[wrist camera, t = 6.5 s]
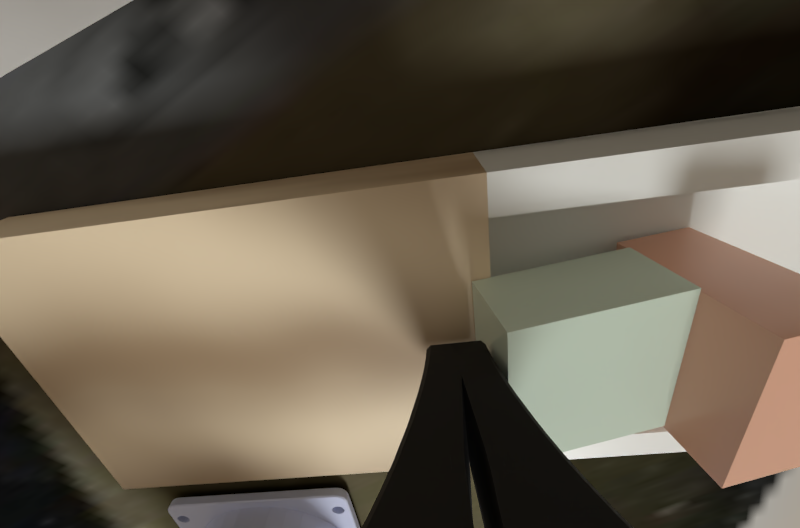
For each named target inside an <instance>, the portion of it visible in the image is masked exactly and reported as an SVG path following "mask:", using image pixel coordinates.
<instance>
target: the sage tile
mask: <svg viewBox="0 0 800 528" xmlns="http://www.w3.org/2000/svg"><path fill="white" fill-rule="evenodd" d="M472 291H473V306H474V322H475V337H476V341H480V340H481V341H482V342H483V343H485V344H486V346H487V348H488V350H489V352H490V354H491V356H492V357H493V359H494V361H495V362H496V364H497V366H498V367H499V369H500V370H501V372H502V374H503V375H504V377H505V378H506V380H507V381H508V383H509V384H510V386H511V387H512V388H513V390H514V391H515V393H516V394H517V395H518V397H519V398H520V399H521V401H522V402H523V403H524V405H525V406H526V407H527V409H528V410H529V411H530V413H531V414H532V415H533V417H534V418H535V419H536V421H537V422H538V423H539V424H540V426H541V427H542V428H543V429H544V431H545V432H546V433H547V434H548V436H549V437H550V438H551V439H552V440H553V442H554V443H555V444H556V445H557V446H558V448H559V449H560V450H561V451H562V452H566V451H570V450H573V449H577V448H581V447H585V446H589V445H593V444H596V443H600V442H604V441H608V440H612V439H616V438H620V437H623V436H627V435H631V434H635V433H639V432H643V431H646V430H650V429H654V428H658V427H662V426H665V422H666V418H667V415H668V411H669V407H670V404H671V400H672V396H673V392H674V389H675V385H676V381H677V377H678V374H679V370H680V366H681V363H682V359H683V355H684V351H685V348H686V344H687V340H688V336H689V333H690V329H691V325H692V322H693V318H694V314H695V310H696V307H697V303H698V299H699V295H700V292H701V288H700V287H699V286H697V285H695V284H693V283H692V282H690V281H688V280H686V279H685V278H683V277H681V276H679V275H678V274H676V273H674V272H672V271H671V270H669V269H667V268H665V267H664V266H662V265H660V264H658V263H656V262H655V261H653V260H651V259H649V258H648V257H646V256H644V255H642V254H641V253H639V252H637V251H635V250H634V249H632V248H630V247H629V248H624V249H620V250H615V251H610V252H606V253H601V254H596V255H592V256H587V257H583V258H578V259H573V260H569V261H564V262H560V263H555V264H550V265H546V266H541V267H536V268H532V269H527V270H523V271H518V272H513V273H509V274H504V275H500V276H495V277H490V278H486V279H481V280H476V281H472Z"/></svg>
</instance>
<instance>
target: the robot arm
mask: <svg viewBox="0 0 800 528" xmlns="http://www.w3.org/2000/svg"><path fill="white" fill-rule="evenodd" d="M470 467H471V471H472V476H473V480H474V484H475V489H476V493H477V497H478V502H479V506H480V510H481V515H482V519H483V523H484V528H633V527H632V526H631V525H630V524H629V523H628V522H627V521H626V520H625V519H624V518H623V517H622V516H621V515H620V514H619V513H618V512H617V511H616V510H615V509H614V508H613V507H612V506H611V505H610V504H609V503H608V502H607V501H606V500H605V499H604V497H603V496H602V495H601V494H600V493H599V492H598V491H597V490H596V489H595V488H594V487H593V486H592V485H591V484H590V483H589V482H588V481H587V479H586V478H585V477H584V476H583V475H582V474H581V473H580V472H579V471H578V469H577V468H576V467H575V466H574V465H573V464H572V463H571V462H570V460H569V459H568V458H567V457H566V456H565V455H564V454H563V452H562V451H561V450H560V449H559V448H558V446H557V445H556V444H555V443H554V442H553V440H552V439H551V438H550V437H549V436H548V434H547V433H546V432H545V431H544V429H543V428H542V427H541V426H540V424H539V423H538V422H537V421H536V419H535V418H534V417H533V415H532V414H531V413H530V411H529V410H528V409H527V407H526V406H525V405H524V403H523V402H522V401H521V399H520V398H519V397H518V395H517V394H516V393H515V391H514V390H513V388H512V387H511V386H510V384H509V383H508V381H507V380H506V378H505V377H504V375H503V374H502V372H501V370H500V369H499V367H498V366H497V364H496V362H495V361H494V359H493V357H492V356H491V354H490V352H489V350H488V348H487V346H486V344H485V343H483V342H482V341H481V340H480V341H469V342H459V343H449V344H438V345H430V346H429V347H428V348H427V349H426V360H425V366H424V371H423V375H422V379H421V383H420V387H419V391H418V394H417V397H416V400H415V403H414V407H413V410H412V413H411V416H410V419H409V422H408V425H407V428H406V430H405V433H404V435H403V438H402V440H401V443H400V445H399V448H398V450H397V453H396V456H395V458H394V461H393V463H392V465H391V468H390V470H389V472H388V474H387V477H386V479H385V481H384V483H383V486H382V488H381V490H380V492H379V494H378V496H377V498H376V500H375V502H374V504H373V507H372V509H371V511H370V513H369V515H368V517H367V519H366V521H365V523H364V524H363V526H362V528H474V526H473V518H472V499H471V481H470ZM168 512H169V514H170V515H171V517H172V518H173V519H174V520H175V522H176V523H177V524H178V526H179V527H180V528H360V526H359V523H358V520H357V517H356V514H355V511H354V508H353V505H352V503H351V500H350V497H349V494H348V493H347V491H346V490H344V489H342V488H319V489H304V490H288V491H272V492H257V493H241V494H226V495H210V496H195V497H179V498H175V499H174V500H172V502H171V504H170V506H169V507H168Z"/></svg>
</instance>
